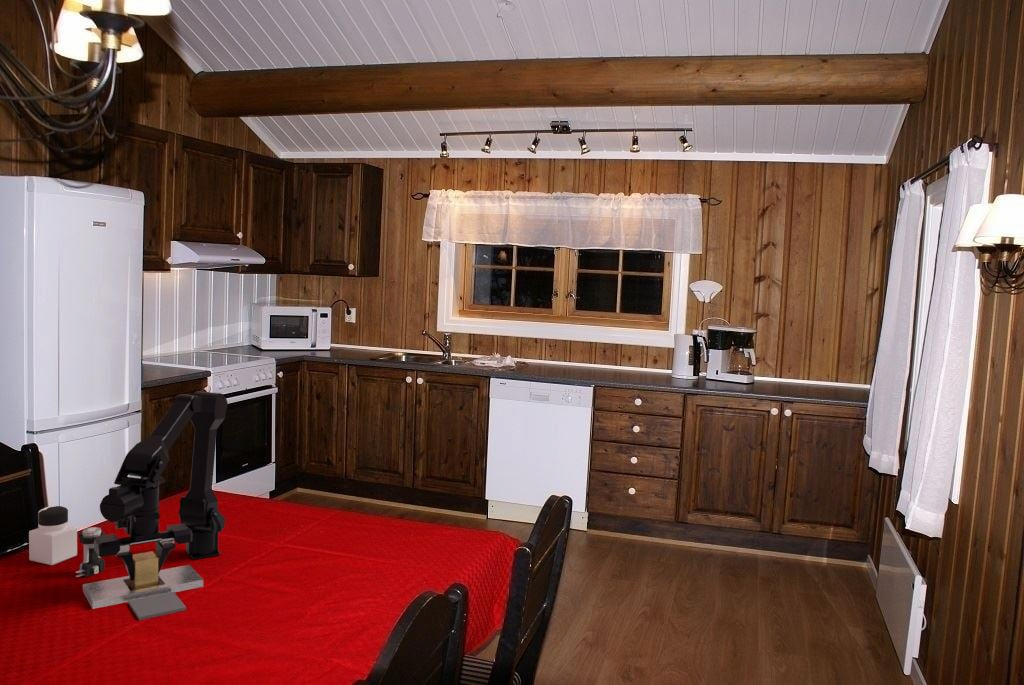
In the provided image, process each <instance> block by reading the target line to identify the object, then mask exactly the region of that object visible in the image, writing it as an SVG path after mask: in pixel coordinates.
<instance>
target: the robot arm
mask: <svg viewBox="0 0 1024 685" xmlns="http://www.w3.org/2000/svg"><path fill="white" fill-rule="evenodd" d="M228 404H229V403H228V399H227V398H226V397H225V395H224V394H223V393H220V392H212V391H210V392H209V391H202V390H201V391H199V390H198V391H195V392H193V394H183V393H181V394H178V395H176V396H175V397H174V400H173V404H172V405H171V406H170V408H168V409H169V410H167V412H166V413H165V415H164V416H163V417H162V419H161V420H160V422H158V424H157V425H156V426H155V428H154V430H153V431H152V433H151V434H150V435H149V436H147V438H146V439H143V440H142V441H139V442H138V443H136V444H135V445H134V446H132V448H131V449H130V450H129V451H128V452H127V453H126V455H125V457H124V458H123V462H122V464H121V465H120V468H119V471H118V473H117V475H116V477H115V479H114V482H113V483H114V484H113V485H117V486H113V487H110V488H109V489H108V494H107V495H105V496H104V497H103V498H102V500H101V502H100V503H99V511H100V514H101V516H102V518H104V519H105V520H106V521H108V522H110V523H114V526H115V530H118V529H124V533H126V535H129V536H127V537H117V535H116V534H115V533H110V534H105V535H104V536H97V537H96V539H95V540H94V550H95V551H96V553H97V554H98V556H99V557H101V558H105V557H110V556H115V557H116V558H118V559H120V558H121V560H122V561H123V563H124V565H125V566H124V567H125V569H126V572H127V574H128V575H127V576H129V577H130V580H131V581H133V578H134V569H133V555H134V554H133V552H132V551H131V550H130V549H131V547H133V546H138V545H144V544H150V543H155V555H156V556H157V557H158V574H159V572H160V570H162V568H163V565H164V563H165V561H166V559H167V557H168V556H169V555H170V553H171V551H172V550H173V549H176V548H177V544H178V545H182V544H185V552H186V553H187V555H188V556H189V557H190V558H191V559H193V560H198V559H203V558H205V559H206V558H210V557H216V556H220V555H221V551H220V550H219V533H220V532H222V531H223V529H225V525H226V519H227V518H225V517H224V515H223V514H222V513H221V512H220V510H219V500H218V498H217V496H216V494H215V492H214V491H213V490H214V489H213V480H214V479H213V478H214V468H215V467H214V466H215V455H216V446H217V444H216V442H217V434H218V432H217V431H218V428H219V427H220V425H221V424H222V423H223V422H224V420H225V419H226V415H227V414H226V413H227V409H228V406H229V405H228ZM189 421H190V422H191V424H192V425H193V428H194V435H193V436H194V437H193V449H192V460H191V461H192V462H191V473H190V486H189V490H188V491H187V493H186V494H185V496H181V497H180V499H179V510H178V516H179V520H180V521H179V522H180V523H177V524H176V523H175V524H169V525H167V527H166V530H163V531H160V530H159V529H160V519H161V518H160V517H161V514H160V485H161V484H163V483H165V482H166V479H165V478H164V477H162V476H161V475H162V474H163V472H164V471H165V469H166V467H167V465H168V462H169V460H170V457H169V452H170V449H171V448H172V446H173V445H174V443H175V442H176V440H177V439H178V438H179V436H180V435H181V433H182V432H183V430H184V429H185V428H186V426H187V425H188V423H189ZM175 543H176V544H175Z"/></svg>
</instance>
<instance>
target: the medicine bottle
mask: <svg viewBox="0 0 1024 685" xmlns="http://www.w3.org/2000/svg"><path fill="white" fill-rule="evenodd" d="M37 513H38V514H37V517H38V518H37V519H38V520H37V521H38V526H37V528H35V529H32V530H29V532H28V548H29V549H28V552H29V553H28V554H29V555H28V556H29V557H28V560H29V561H32V562H34V563H35V562H36V563H41V564H45V565H49V566H53V565H57V564H59V563H62V562H64V561H67V560H69V559H71V558H74V557H76V556H77V555H78V527H77V526H75V525H70V524H69V510H68V508H67V507H64V506H60V505H51V506H46V507H44V508H42V509H39V510H38V512H37Z"/></svg>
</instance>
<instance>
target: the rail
mask: <svg viewBox="0 0 1024 685" xmlns="http://www.w3.org/2000/svg"><path fill="white" fill-rule="evenodd" d="M129 587H130V577H129V575H127V576H121V577H116V578H115V577H114V578H110V579H105V580H100V581H93V582H88V583H84V584H82V593H83V595H84V596H85V598H86V599H87V602H88V603H89V605H90V607H91V609H92V610H94V609H99V608H104V607H109V606H114V605H118V604H119V605H120V604H124V603H128V601H131V600H136V599H141V598H146V597H150V596H155V595H160V594H165V593H170V592H174V593H179V592H184V591H188V590H194V589H199V588H203V587H204V578H203V577H202V576H201V575H200V574H199V573H198V572H197V570H195V569H194V567H192V566H191V564H188V565H186V564H185V565H181V566H176V567H171V568H170V567H169V568H165V569H161V570H160V572H159V574H158V586H154V587H149V588H144V589H139V590H134V591H133V590H130V588H129Z"/></svg>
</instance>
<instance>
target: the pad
mask: <svg viewBox="0 0 1024 685" xmlns="http://www.w3.org/2000/svg"><path fill="white" fill-rule="evenodd" d="M127 603H128V606H130V609H131V610H132V611H133V613H134V614H135V616H136V618H137V619H138V620H139V621H143V620H147V619H152V618H157V617H161V616H165V615H169V614H174V613H179V612H183V611H187V606H186V605H185V604H184V602H182V600H181V599H180V598H179V597H178V595H177V593H176V592H170V593H165V594H160V595H155V596H150V597H146V598H141V599H136V600H131V601H128V602H127Z"/></svg>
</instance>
